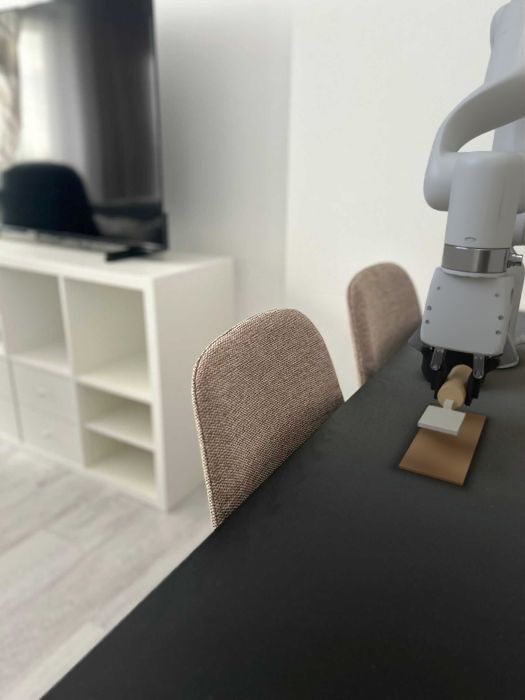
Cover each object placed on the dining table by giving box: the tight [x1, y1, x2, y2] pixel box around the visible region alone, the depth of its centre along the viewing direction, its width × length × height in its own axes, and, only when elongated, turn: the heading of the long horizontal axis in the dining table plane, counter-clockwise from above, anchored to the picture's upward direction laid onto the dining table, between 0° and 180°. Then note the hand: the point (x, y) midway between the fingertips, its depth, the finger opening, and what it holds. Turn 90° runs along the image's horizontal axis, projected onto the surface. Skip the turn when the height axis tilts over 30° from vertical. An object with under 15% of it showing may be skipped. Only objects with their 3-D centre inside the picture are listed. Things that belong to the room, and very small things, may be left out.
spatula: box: [417, 365, 472, 436], centre depth 66 cm, size 16×4×3 cm, turn 150°
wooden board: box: [398, 404, 487, 487], centre depth 69 cm, size 20×8×1 cm, turn 150°
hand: (453, 397), depth 68 cm, fingers closed on spatula, 3 cm apart
